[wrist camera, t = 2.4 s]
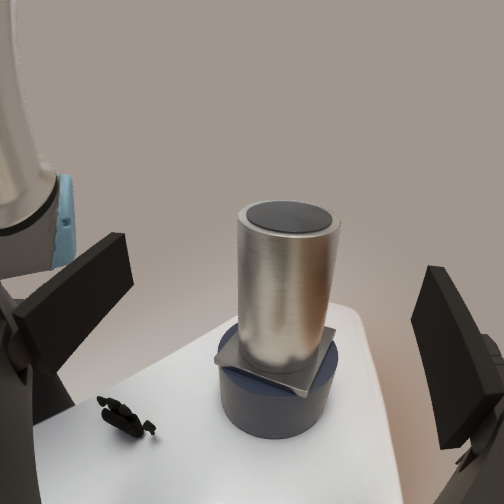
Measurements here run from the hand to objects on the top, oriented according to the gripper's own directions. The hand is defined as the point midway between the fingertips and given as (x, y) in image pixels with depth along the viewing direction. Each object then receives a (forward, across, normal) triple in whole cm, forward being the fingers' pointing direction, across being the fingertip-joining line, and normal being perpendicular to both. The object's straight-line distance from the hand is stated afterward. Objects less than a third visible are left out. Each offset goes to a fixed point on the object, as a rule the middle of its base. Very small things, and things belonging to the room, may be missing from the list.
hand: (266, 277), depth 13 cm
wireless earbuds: (+1, -13, -21) cm, 25 cm away
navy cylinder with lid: (+10, 0, -21) cm, 23 cm away
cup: (+10, 0, -13) cm, 16 cm away
